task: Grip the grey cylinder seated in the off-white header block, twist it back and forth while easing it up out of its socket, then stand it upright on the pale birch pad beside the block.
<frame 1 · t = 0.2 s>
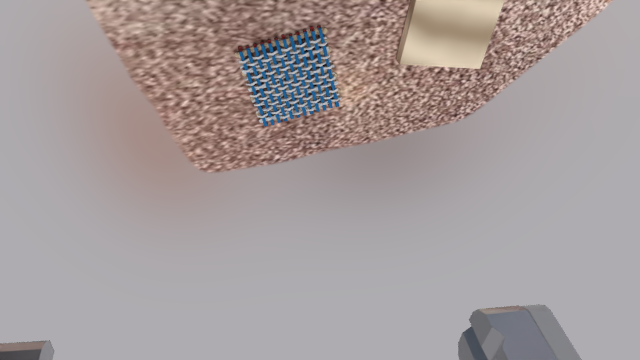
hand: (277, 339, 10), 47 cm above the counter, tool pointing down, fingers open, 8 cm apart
woven mat: (290, 73, 61), on the counter
pad: (448, 19, 59), on the counter
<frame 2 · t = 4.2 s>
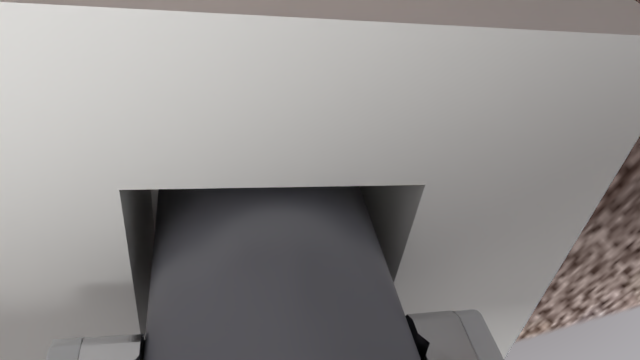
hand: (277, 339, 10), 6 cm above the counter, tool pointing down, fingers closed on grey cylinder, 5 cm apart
grey cylinder: (256, 171, 14), point 1 cm above the counter, touching gripper, header
header: (253, 150, 15), on the counter
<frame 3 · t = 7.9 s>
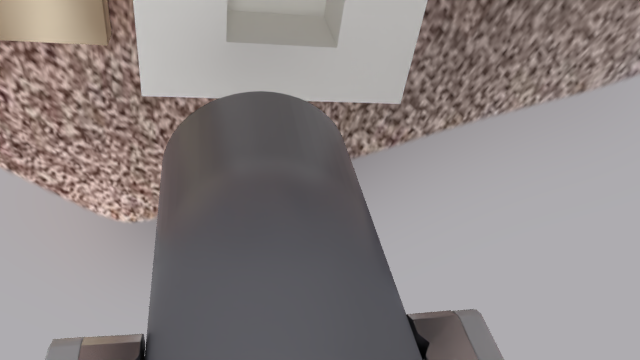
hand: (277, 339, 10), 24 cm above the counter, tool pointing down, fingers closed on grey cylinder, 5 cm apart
grey cylinder: (257, 171, 14), point 18 cm above the counter, touching gripper
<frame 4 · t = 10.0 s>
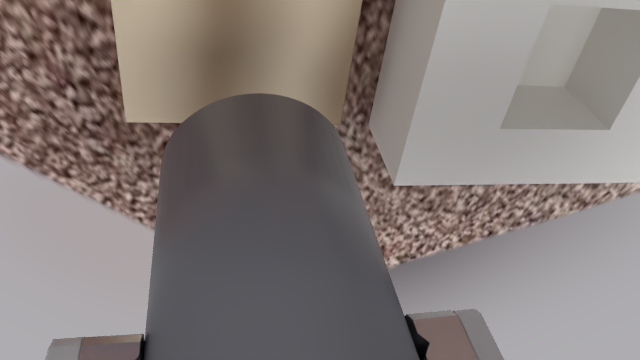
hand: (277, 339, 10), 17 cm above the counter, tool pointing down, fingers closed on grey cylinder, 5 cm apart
grey cylinder: (256, 173, 14), point 11 cm above the counter, touching gripper
pad: (239, 7, 23), on the counter
header: (527, 24, 26), on the counter
when the fingers open (8 cm above the counter, at t = 11.9 s): grey cylinder drops 1 cm, resting on pad.
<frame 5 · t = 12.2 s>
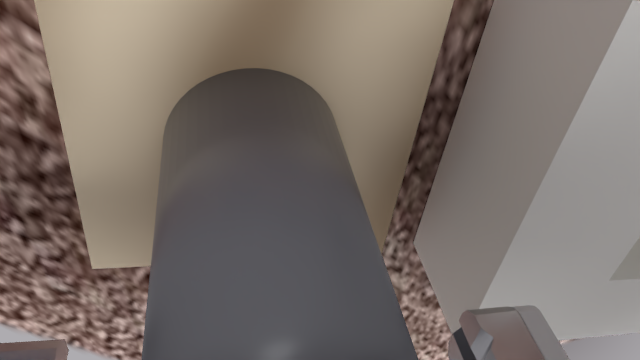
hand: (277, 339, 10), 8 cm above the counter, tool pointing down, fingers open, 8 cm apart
grey cylinder: (252, 145, 15), point 2 cm above the counter, touching pad
pad: (247, 117, 16), on the counter
header: (629, 121, 19), on the counter
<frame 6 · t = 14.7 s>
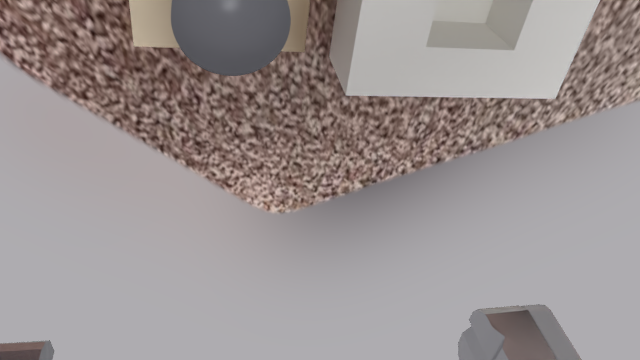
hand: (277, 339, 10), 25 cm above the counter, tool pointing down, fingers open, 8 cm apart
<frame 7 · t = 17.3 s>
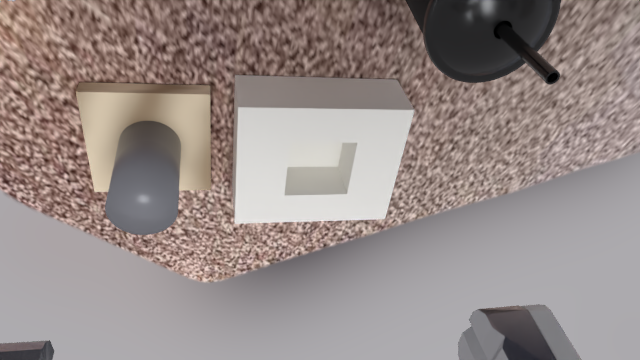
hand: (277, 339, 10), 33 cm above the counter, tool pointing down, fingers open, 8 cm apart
grey cylinder: (150, 145, 44), point 1 cm above the counter, touching pad
pad: (151, 135, 45), on the counter
header: (310, 135, 48), on the counter
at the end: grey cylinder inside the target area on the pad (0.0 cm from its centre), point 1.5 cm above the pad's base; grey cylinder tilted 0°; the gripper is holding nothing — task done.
